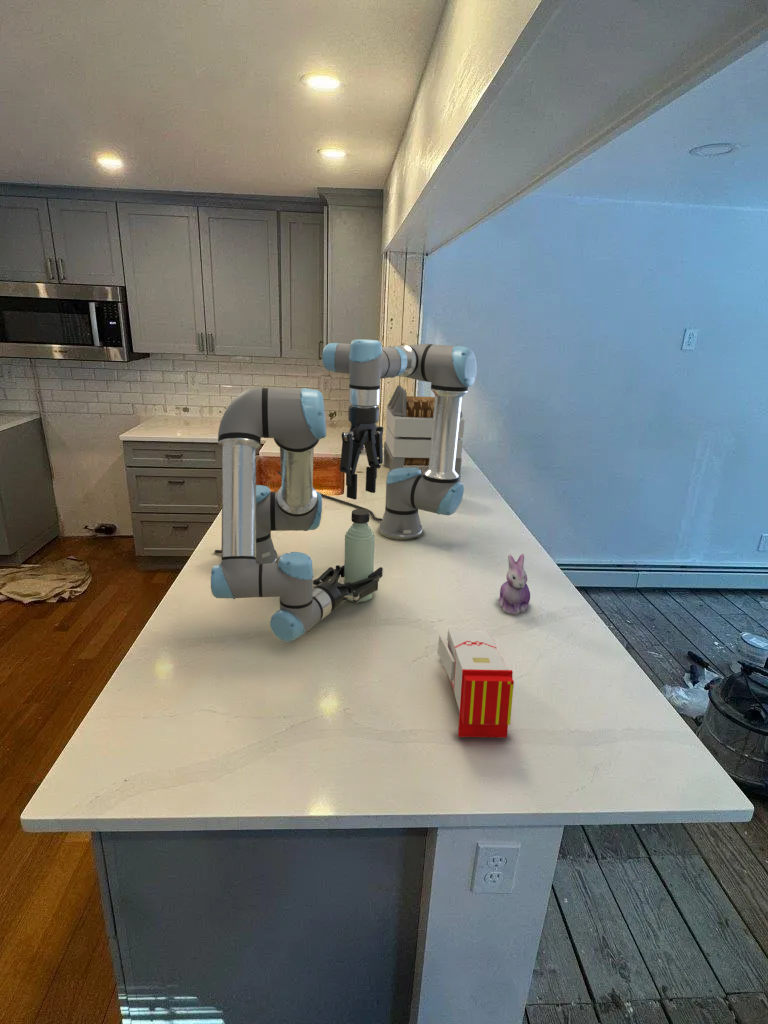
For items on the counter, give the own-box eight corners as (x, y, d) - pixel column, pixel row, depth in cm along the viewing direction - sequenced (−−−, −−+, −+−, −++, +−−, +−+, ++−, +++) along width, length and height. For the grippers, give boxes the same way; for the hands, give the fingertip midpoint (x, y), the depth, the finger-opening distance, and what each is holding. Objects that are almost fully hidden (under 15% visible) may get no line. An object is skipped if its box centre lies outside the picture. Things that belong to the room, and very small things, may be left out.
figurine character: (364, 456, 305) (364, 447, 319) (364, 443, 302) (364, 434, 315) (351, 456, 305) (352, 446, 318) (351, 443, 302) (352, 434, 315)
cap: (372, 522, 148) (372, 513, 147) (355, 524, 146) (355, 515, 145) (365, 516, 152) (365, 508, 151) (348, 518, 150) (348, 509, 149)
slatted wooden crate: (382, 463, 289) (386, 382, 275) (445, 464, 293) (451, 384, 279) (390, 482, 257) (394, 392, 243) (460, 483, 261) (468, 394, 247)
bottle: (377, 598, 155) (380, 516, 147) (350, 604, 151) (352, 520, 143) (365, 586, 161) (368, 506, 153) (339, 591, 158) (340, 510, 150)
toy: (488, 613, 130) (523, 677, 101) (484, 667, 133) (517, 744, 104) (435, 612, 130) (455, 676, 101) (432, 666, 133) (451, 743, 103)
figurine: (512, 619, 147) (519, 566, 142) (488, 601, 156) (494, 551, 151) (540, 611, 151) (548, 560, 146) (515, 594, 160) (522, 546, 155)
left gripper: (287, 603, 145) (336, 571, 164) (356, 626, 136) (400, 589, 155) (286, 576, 143) (336, 547, 162) (357, 599, 133) (401, 564, 152)
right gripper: (377, 399, 148) (373, 483, 156) (324, 407, 133) (324, 500, 141) (400, 403, 144) (395, 489, 152) (348, 412, 129) (346, 507, 137)
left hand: (367, 568), depth 158 cm, fingers closed on bottle, 8 cm apart
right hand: (361, 494), depth 146 cm, fingers open, 7 cm apart
